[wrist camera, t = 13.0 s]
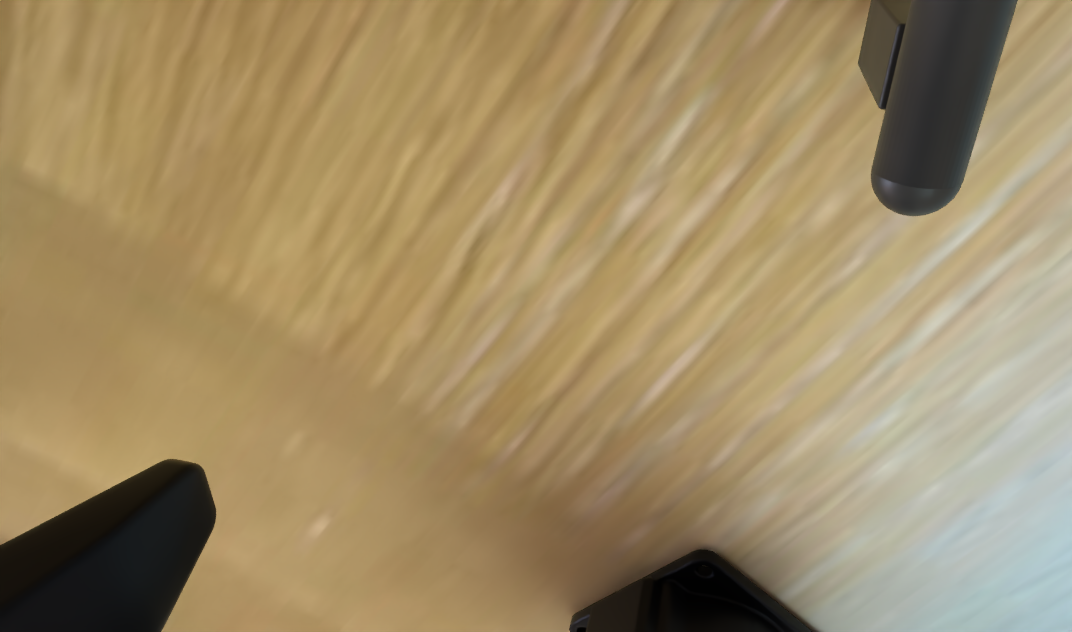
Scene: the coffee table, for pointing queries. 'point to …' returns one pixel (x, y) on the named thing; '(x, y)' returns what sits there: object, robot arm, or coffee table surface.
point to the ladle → (929, 93)
